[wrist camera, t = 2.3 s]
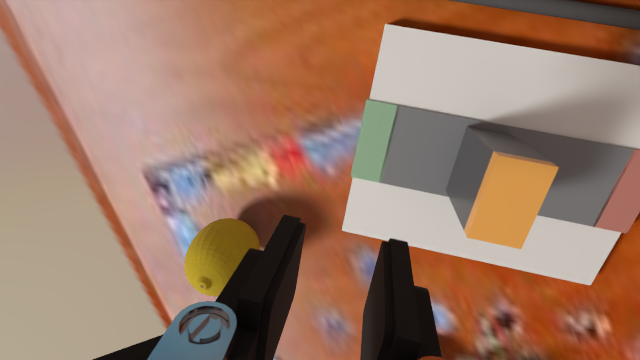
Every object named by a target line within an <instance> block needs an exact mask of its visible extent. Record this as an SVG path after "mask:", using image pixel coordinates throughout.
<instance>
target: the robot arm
mask: <svg viewBox="0 0 640 360" xmlns="http://www.w3.org/2000/svg"><path fill="white" fill-rule="evenodd" d="M300 221H301V219H300V218H297V217H292V216H288V215H283V217H282V219H281V221H280V222H279V224H278V226H277V228H276V229H275V231H274V233H273V235H272V237H271V238H270V240H269V242H268V244H267V246H266V247H265V249H264V251H262V250H258V249H253V248H250V249H249V250H248V251H247V252H246V254H245V255H244V257H243V259H242V260H241V262H240V263H239V265H238V266H237V268H236V270H235V271H234V273H233V274H232V276H231V277H230V279H229V281H228V282H227V284H226V285H225V287H224V288H223V290H222V292H221V293H220V295H219V296H218V298H217V299H216V301H215V302H211V301H206V302H198V303H196V304H193V305H190V306H188V307H187V308H185V309H183V310H182V311H181V312H180V313H179V314H178V315H177V316H176V317H175V318H174V320H173V321H172V323H171V324H170V326H169V327H168V329H167V330H166V332H165V333H164V334H163V335H161V336H158V337H155V338H152V339H149V340H147V341H144V342H141V343H138V344H135V345H132V346H130V347H127V348H124V349H121V350H118V351H116V352H113V353H110V354H107V355H104V356H101V357H99V358H96V359H93V360H273V358H274V355H275V352H276V349H277V346H278V343H279V340H280V337H281V334H282V331H283V328H284V325H285V322H286V319H287V316H288V313H289V310H290V307H291V304H292V301H293V298H294V294H295V290H296V284H297V277H298V271H299V265H300V259H301V253H302V246H303V240H304V234H305V228H306V224H304V223H300ZM360 360H446V359H443V358H442V356H441V351H440V346H439V341H438V336H437V331H436V326H435V321H434V316H433V311H432V306H431V301H430V296H429V292H428V290H427V289H426V288H422V287H418V286H414V282H413V275H412V268H411V261H410V254H409V247H408V242H406V241H402V240H397V239H393V238H390V239H389V241H388V242H385V241H382V244H381V247H380V251H379V255H378V259H377V262H376V266H375V270H374V273H373V277H372V281H371V285H370V288H369V292H368V296H367V300H366V303H365V307H364V313H363V326H362V343H361V359H360Z"/></svg>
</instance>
